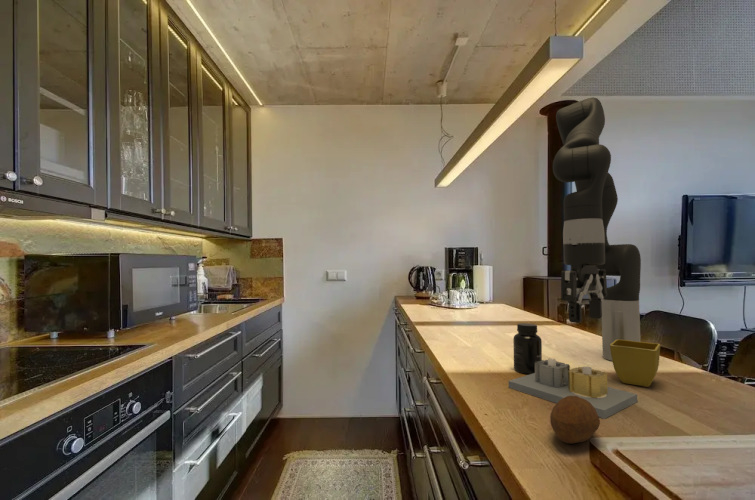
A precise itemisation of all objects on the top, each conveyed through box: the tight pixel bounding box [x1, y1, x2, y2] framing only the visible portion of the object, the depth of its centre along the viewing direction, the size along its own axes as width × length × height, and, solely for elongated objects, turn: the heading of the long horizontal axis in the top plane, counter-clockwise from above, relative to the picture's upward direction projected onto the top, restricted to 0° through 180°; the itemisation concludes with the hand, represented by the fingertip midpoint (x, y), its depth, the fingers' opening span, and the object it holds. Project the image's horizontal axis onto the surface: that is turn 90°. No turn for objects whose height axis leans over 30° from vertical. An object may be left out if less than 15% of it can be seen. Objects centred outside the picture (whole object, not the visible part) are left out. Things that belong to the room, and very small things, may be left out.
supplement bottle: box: [512, 322, 543, 375], centre depth 94 cm, size 7×7×12 cm
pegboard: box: [507, 358, 638, 420], centre depth 77 cm, size 14×20×6 cm
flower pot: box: [610, 339, 661, 388], centre depth 84 cm, size 9×9×9 cm
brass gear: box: [568, 366, 608, 398], centre depth 74 cm, size 6×6×4 cm
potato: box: [549, 396, 601, 445], centre depth 57 cm, size 7×12×7 cm, turn 145°
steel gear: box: [535, 359, 571, 388], centre depth 80 cm, size 6×6×4 cm
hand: (585, 320), depth 75 cm, fingers open, 8 cm apart
